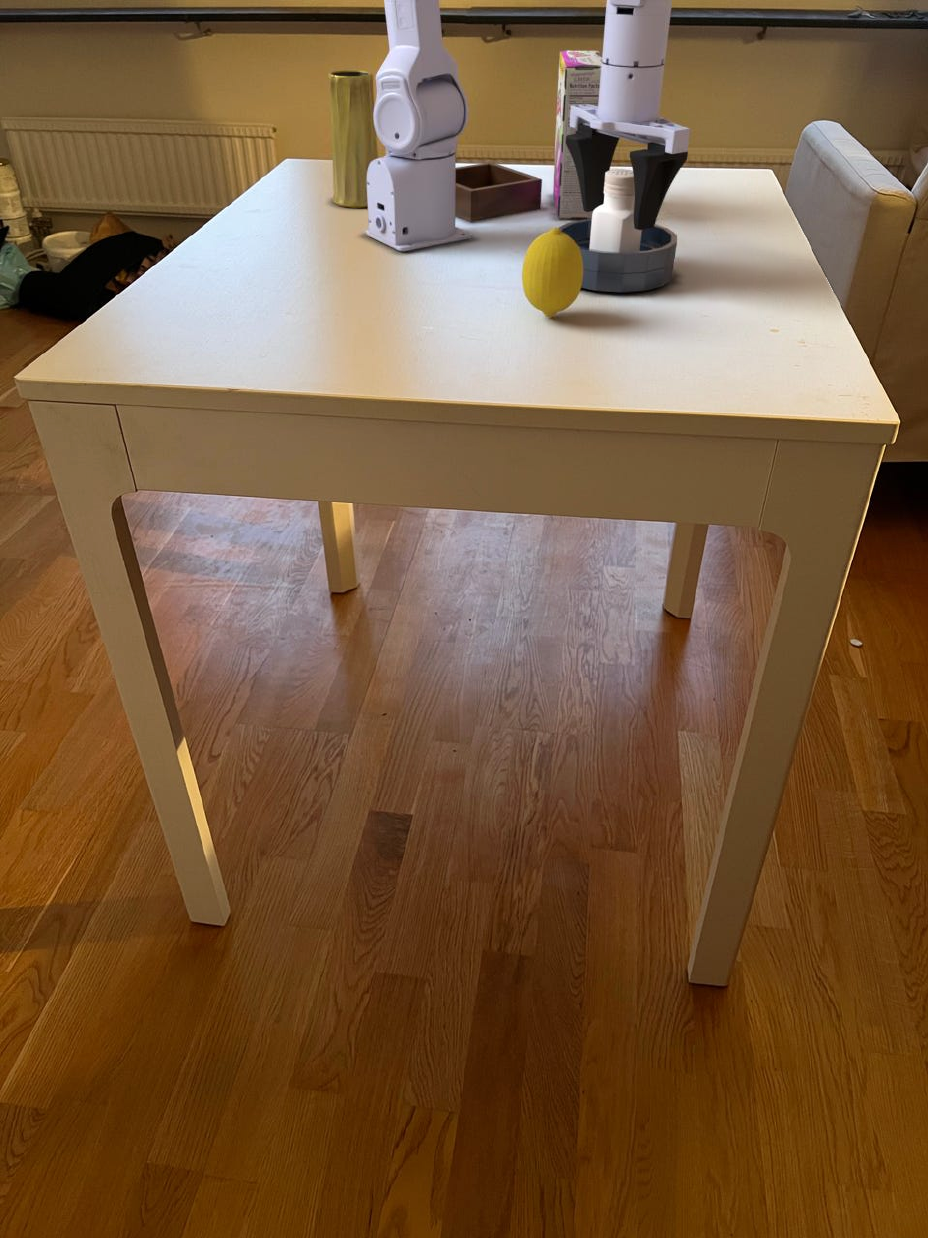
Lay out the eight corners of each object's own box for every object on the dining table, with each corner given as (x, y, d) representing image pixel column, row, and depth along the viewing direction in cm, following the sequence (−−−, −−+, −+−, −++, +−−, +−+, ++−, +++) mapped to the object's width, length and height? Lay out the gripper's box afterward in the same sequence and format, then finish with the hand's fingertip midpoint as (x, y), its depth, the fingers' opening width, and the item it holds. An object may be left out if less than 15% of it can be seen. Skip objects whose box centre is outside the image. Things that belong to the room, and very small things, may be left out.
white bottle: (607, 263, 102) (617, 165, 96) (639, 271, 99) (650, 172, 94) (584, 271, 99) (593, 172, 93) (616, 280, 97) (627, 180, 91)
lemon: (531, 330, 87) (536, 239, 82) (512, 309, 91) (516, 221, 86) (588, 325, 88) (596, 234, 83) (567, 304, 92) (573, 217, 88)
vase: (351, 210, 118) (343, 78, 109) (324, 200, 122) (314, 71, 113) (391, 202, 121) (386, 73, 112) (364, 192, 125) (357, 67, 116)
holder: (470, 222, 114) (471, 191, 112) (422, 202, 121) (422, 172, 119) (540, 209, 119) (542, 178, 117) (490, 190, 126) (491, 161, 124)
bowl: (606, 303, 93) (610, 261, 90) (529, 269, 101) (531, 229, 98) (696, 280, 98) (702, 239, 96) (616, 249, 106) (620, 211, 104)
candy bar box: (550, 195, 124) (558, 49, 114) (589, 196, 124) (600, 49, 114) (554, 220, 115) (564, 63, 105) (596, 220, 115) (610, 64, 105)
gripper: (549, 56, 91) (541, 208, 99) (656, 77, 81) (638, 243, 90) (605, 50, 94) (593, 198, 102) (715, 70, 84) (692, 230, 93)
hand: (617, 218), depth 96 cm, fingers open, 7 cm apart
